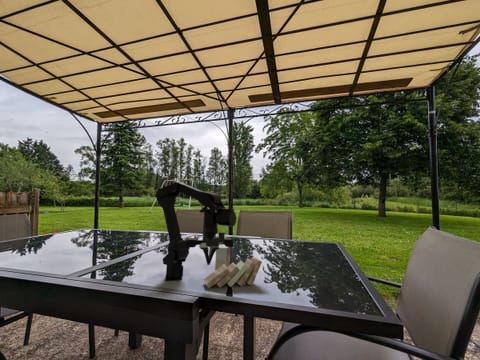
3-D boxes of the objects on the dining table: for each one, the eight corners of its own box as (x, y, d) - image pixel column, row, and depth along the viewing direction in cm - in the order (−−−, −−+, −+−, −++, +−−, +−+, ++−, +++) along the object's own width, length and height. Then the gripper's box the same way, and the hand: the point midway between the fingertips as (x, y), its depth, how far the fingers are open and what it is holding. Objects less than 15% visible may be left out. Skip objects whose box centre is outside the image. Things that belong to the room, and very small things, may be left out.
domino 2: (216, 284, 87) (236, 266, 90) (214, 279, 93) (232, 262, 96) (219, 288, 87) (239, 269, 90) (216, 282, 93) (235, 265, 96)
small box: (225, 270, 111) (226, 248, 112) (214, 269, 112) (215, 247, 113) (229, 266, 119) (230, 245, 120) (219, 265, 120) (220, 244, 121)
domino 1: (205, 284, 86) (227, 267, 89) (203, 279, 92) (223, 263, 95) (208, 288, 86) (230, 272, 89) (206, 283, 92) (226, 267, 95)
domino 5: (247, 284, 91) (257, 259, 93) (243, 279, 97) (252, 256, 99) (252, 285, 91) (262, 261, 93) (247, 280, 97) (256, 258, 99)
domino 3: (227, 283, 88) (245, 263, 91) (223, 278, 94) (240, 260, 97) (230, 287, 89) (248, 267, 92) (227, 282, 94) (243, 263, 97)
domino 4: (237, 283, 90) (252, 261, 92) (233, 278, 95) (247, 258, 98) (241, 286, 90) (255, 264, 92) (237, 281, 96) (250, 260, 98)
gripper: (188, 226, 81) (185, 272, 80) (238, 226, 87) (236, 269, 85) (186, 223, 92) (183, 263, 90) (231, 224, 97) (229, 262, 96)
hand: (208, 264), depth 90 cm, fingers closed
